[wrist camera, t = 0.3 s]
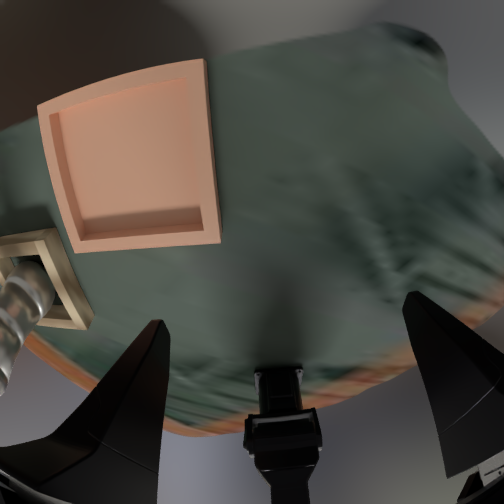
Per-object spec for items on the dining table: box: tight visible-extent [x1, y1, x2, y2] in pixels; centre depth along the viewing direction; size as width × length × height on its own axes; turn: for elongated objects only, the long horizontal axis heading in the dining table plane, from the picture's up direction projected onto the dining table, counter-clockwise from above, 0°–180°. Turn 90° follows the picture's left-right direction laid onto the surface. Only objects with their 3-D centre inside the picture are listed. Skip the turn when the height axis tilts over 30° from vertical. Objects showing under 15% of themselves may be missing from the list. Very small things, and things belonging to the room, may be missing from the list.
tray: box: [37, 58, 222, 253], centre depth 19 cm, size 14×14×2 cm
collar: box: [0, 227, 95, 330], centre depth 25 cm, size 12×12×2 cm
